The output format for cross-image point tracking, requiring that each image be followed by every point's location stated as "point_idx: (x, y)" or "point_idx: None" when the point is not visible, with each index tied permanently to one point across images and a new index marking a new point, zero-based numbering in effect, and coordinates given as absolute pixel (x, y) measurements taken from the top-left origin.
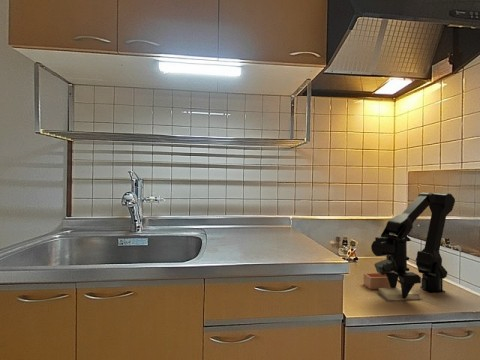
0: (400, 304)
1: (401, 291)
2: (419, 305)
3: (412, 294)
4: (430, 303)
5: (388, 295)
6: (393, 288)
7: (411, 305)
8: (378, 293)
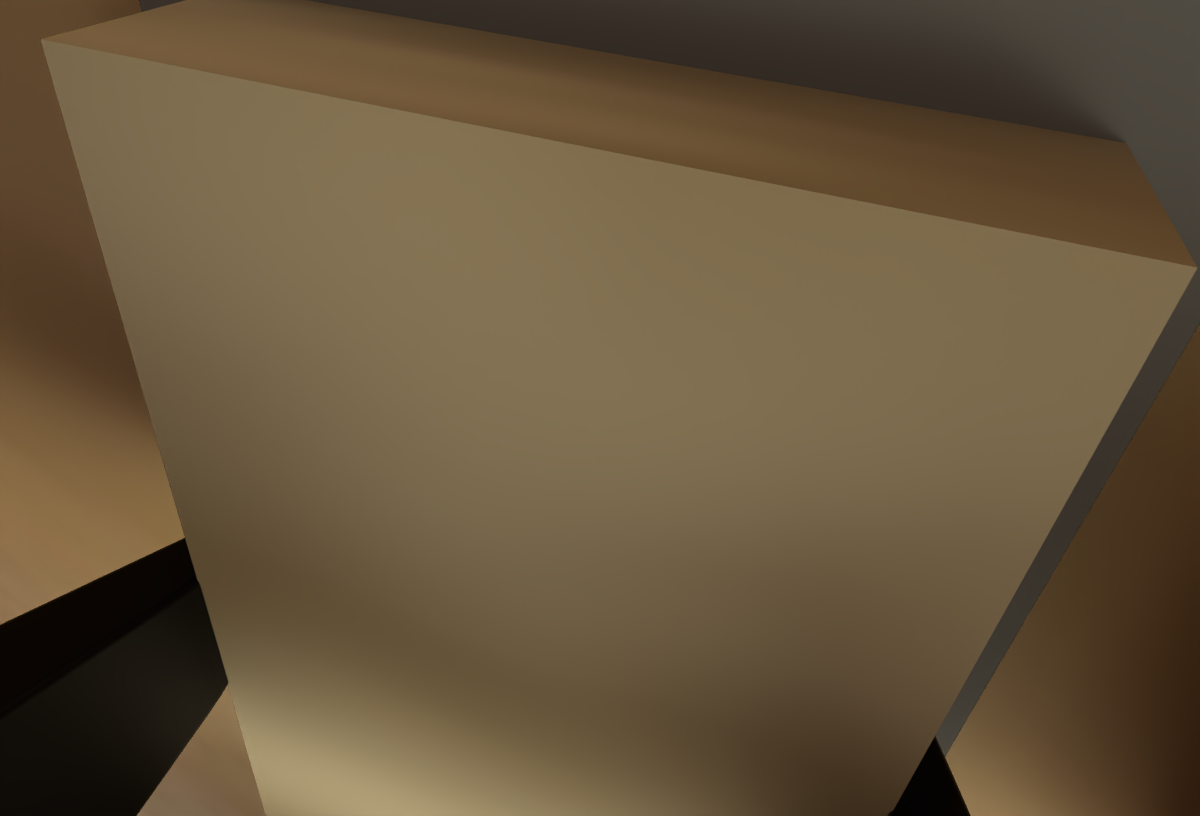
0: (86, 223)
1: (447, 749)
2: (110, 554)
3: (265, 775)
4: (229, 749)
5: (63, 51)
6: (777, 790)
7: (78, 423)
8: (1113, 127)
